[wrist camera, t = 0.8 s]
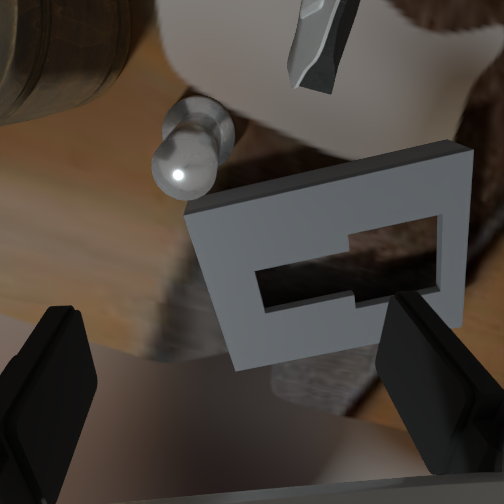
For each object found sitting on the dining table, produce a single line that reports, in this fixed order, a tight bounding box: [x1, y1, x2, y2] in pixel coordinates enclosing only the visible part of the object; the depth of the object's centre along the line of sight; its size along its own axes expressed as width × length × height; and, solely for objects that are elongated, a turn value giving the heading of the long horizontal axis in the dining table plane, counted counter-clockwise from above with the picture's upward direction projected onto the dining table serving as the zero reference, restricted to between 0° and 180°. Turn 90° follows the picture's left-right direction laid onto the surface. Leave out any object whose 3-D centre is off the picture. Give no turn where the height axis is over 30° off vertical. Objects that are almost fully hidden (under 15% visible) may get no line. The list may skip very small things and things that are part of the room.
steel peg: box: [151, 95, 235, 200], centre depth 28 cm, size 6×6×13 cm
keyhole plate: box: [183, 140, 474, 371], centre depth 39 cm, size 20×26×4 cm
